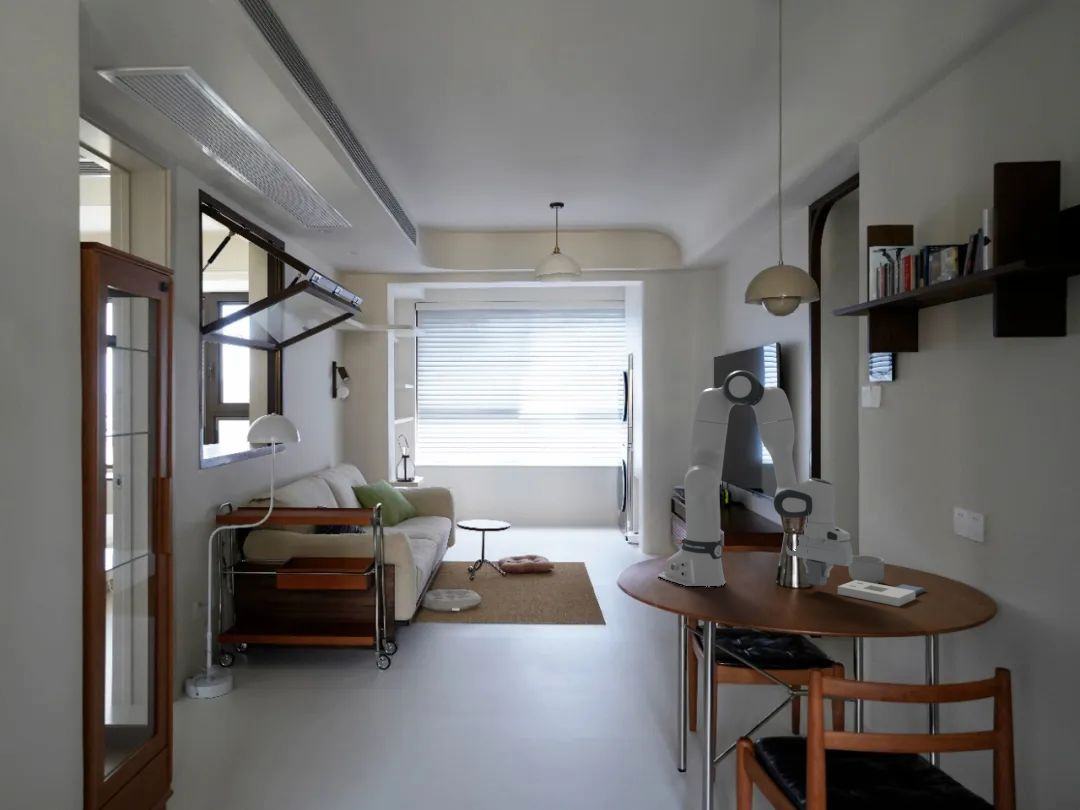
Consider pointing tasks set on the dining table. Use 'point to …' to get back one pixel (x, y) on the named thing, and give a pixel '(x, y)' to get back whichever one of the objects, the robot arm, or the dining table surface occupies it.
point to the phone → (912, 588)
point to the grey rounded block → (867, 568)
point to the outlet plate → (877, 592)
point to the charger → (816, 573)
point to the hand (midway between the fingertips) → (817, 574)
